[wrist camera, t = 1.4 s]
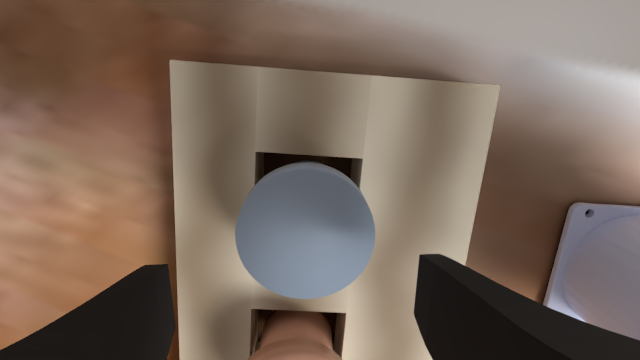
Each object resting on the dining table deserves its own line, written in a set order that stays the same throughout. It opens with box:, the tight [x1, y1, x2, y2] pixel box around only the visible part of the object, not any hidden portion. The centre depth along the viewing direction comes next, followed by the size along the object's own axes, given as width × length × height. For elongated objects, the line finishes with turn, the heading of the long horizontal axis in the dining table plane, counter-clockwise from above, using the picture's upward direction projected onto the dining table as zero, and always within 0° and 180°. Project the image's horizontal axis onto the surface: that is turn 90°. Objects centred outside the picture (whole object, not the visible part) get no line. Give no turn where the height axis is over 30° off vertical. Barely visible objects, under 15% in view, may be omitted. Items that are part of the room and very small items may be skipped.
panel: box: [169, 60, 501, 360], centre depth 21 cm, size 14×28×4 cm, turn 176°
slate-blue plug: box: [235, 160, 375, 299], centre depth 16 cm, size 5×5×5 cm
